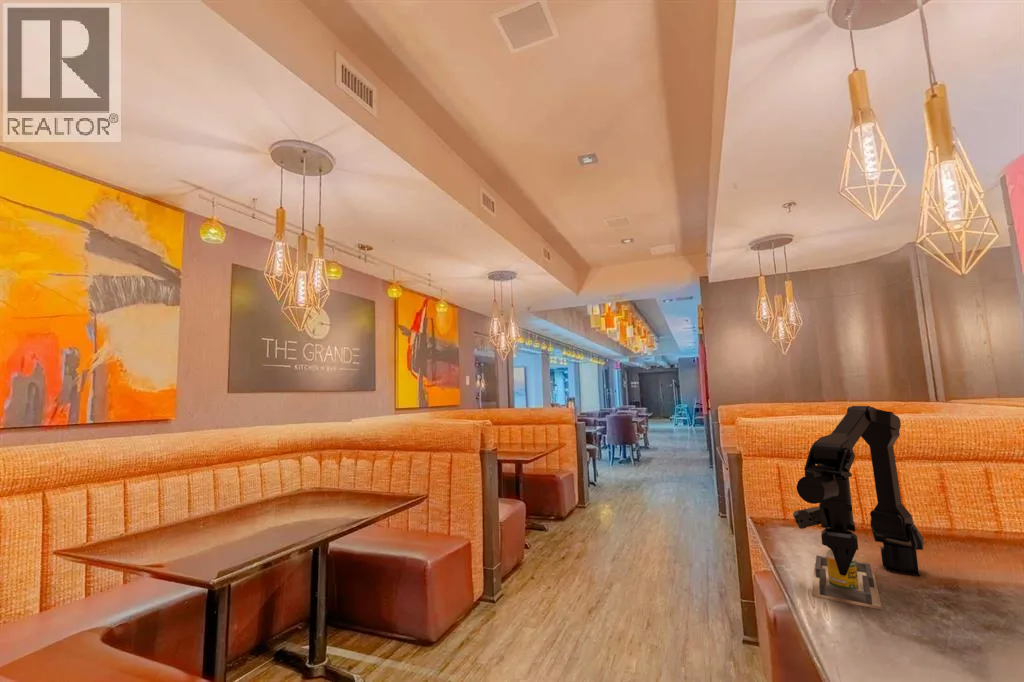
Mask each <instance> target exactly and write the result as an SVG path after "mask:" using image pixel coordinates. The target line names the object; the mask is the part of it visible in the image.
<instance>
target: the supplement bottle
mask: <svg viewBox="0 0 1024 682" xmlns="http://www.w3.org/2000/svg"><path fill="white" fill-rule="evenodd" d="M825 555H826V556H825V557H827V566H828V577H829V584H830V585H831V586H836V587H842V588H847V589H852V590H858V589H859V588H858V577H857V568H856V562H857V561H856V556H855V555H854V557H853V560H852V562H851V564H850V567H849V569H848V572H847V574H846V576H844V575H840V573H839V570H838V567H837V564H836V561H835V558H834V555H833V552H832V550H831V549H830V548H829V549H828V550H827V551H826V554H825Z"/></svg>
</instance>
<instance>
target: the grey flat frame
mask: <svg viewBox="0 0 1024 682" xmlns="http://www.w3.org/2000/svg"><path fill="white" fill-rule="evenodd" d="M856 568H857V577H858V588H859V589H858V590H852V589H847V588H842V587H836V586H831V585H830V584H829V577H828V566H827V557H826V556H824V555H823V556H822V555H816V556H815V563H814V566H813V569H814V570H813V579H812V587H811V589H812V590H811V595H812V597H815V596H816V597H815V598H820V599H821V598H822V599H826V600H831V601H834V602H835V601H836V602H840V603H841V602H842V603H844V604H845V603H846V604H852V605H858V606H861V607H866V608H871V609H875V610H881V611H882V610H883V607H882V604H881V598H880V595H879V589H878V587H877V586H878V585H877V583H876V577H875V573H874V572H872V566H871V564H870V563H868V562H867V563H866V562H861V561H856Z"/></svg>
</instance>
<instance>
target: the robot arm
mask: <svg viewBox="0 0 1024 682" xmlns="http://www.w3.org/2000/svg"><path fill="white" fill-rule="evenodd" d="M901 426H902V425H901V418H900V417H899V416H898V415H897V414H894V412H893V411H891V410H890V411H887V410H882V409H878V408H875V407H874V406H870V405H851V406H848V408H847V409H846V413H845V415H844V416H843V418H842V419H841V420H840V421H839V423H838V424H837V425H836V427H835V428H834V429H833V430H832V432H831V433H830V434H827V435H823V436H821V437H819V438H818V439H816V440H815V441H814V442H813V443H812V445H811V447H810V449H809V452H808V456H807V459H806V462H805V465H804V476H803V477H800V478H799V479H798V481H797V484H796V491H797V494H798V495H799V497H800V498H801V499H802V500H803V501H804V502H806V503H808V504H813V505H816V504H819V505H818V506H815V507H814V506H813V507H809V508H808V507H807V508H803V509H797V510H795V511H794V512H793V514H792V516H793V517H794V520H795V521H794V522H795V523H796V525H797V526H798V529H800V530H801V529H802V530H803V529H806V528H807V527H812V526H818V525H820V527H821V528H823V530H822V531H821V536H820V538H821V545H823V546H826V547H828V549H829V550H830V549H831V550H832V552H833V555H834V558H835V561H836V564H837V567H838V570H839V573H840V575H844V576H846V574H847V572H848V569H849V567H850V564H851V562H852V560H853V557H854V556H855V555H856V553H857V551H858V550H859V544H858V543H859V542H858V541H859V540H858V536H857V535H856V534H855V533H854V532H856V525H855V520H854V514H853V513H854V512H853V511H854V510H853V504H852V493H851V485H850V484H851V483H850V478H852V477H853V473H852V472H851V471H850V470H851V469H852V465H853V463H854V461H855V459H856V454H855V452H854V447H855V445H856V444H857V442H858V441H859V439H860V438H861V439H863V441H865V442H866V444H867V445H868V446H869V451H870V458H871V466H872V472H873V473H872V474H873V480H874V485H875V486H874V487H875V494H876V499H877V500H876V501H877V504H876V505H875V507H874V508H873V510H871V511H870V513H869V514H870V529H871V532H872V536H873V539H874V541H875V542H876V543H878V542H879V543H882V546H880V547H879V548H880V558H881V564H882V566H883V567H884V568H885V570H886V571H888V572H891V573H898V574H903V575H904V574H905V575H909V576H910V575H912V576H915V577H916V576H917V577H921V571H919V565H918V564H919V563H918V556H917V555H918V553H917V551H918V550H919V551H920V550H921V551H924V544H925V543H924V537H923V536H922V534H921V532H920V531H919V529H918V528H917V526H916V524H914V519H913V516H912V514H911V512H910V511H908V509H907V508H906V507H905V506H904V505H903V503H902V496H901V490H900V489H901V488H900V483H899V477H898V470H897V462H896V457H895V450H894V449H895V448H894V445H895V443H896V442H897V440H898V438H899V437H900V436H901V435H900V429H901Z"/></svg>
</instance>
